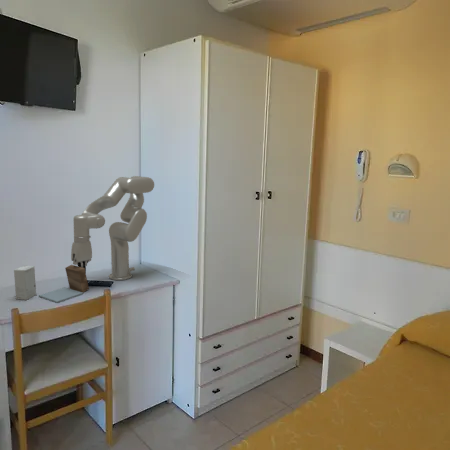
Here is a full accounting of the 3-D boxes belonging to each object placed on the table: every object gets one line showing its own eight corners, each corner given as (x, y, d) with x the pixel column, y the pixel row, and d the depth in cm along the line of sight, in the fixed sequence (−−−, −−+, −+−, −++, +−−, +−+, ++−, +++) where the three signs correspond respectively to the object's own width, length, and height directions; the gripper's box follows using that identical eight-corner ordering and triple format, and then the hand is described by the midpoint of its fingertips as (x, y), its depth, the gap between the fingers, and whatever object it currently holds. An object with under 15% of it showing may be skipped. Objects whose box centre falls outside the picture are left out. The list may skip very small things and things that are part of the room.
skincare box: (26, 300, 203) (24, 270, 200) (15, 299, 203) (13, 269, 201) (36, 294, 211) (35, 265, 208) (25, 293, 212) (23, 264, 209)
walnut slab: (75, 285, 223) (71, 264, 219) (88, 289, 218) (84, 268, 214) (69, 288, 220) (65, 267, 216) (82, 292, 215) (78, 271, 211)
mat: (64, 288, 220) (64, 287, 220) (83, 294, 213) (83, 292, 213) (39, 296, 207) (38, 295, 207) (57, 303, 200) (57, 301, 200)
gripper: (88, 235, 225) (89, 269, 228) (64, 240, 212) (65, 275, 216) (98, 238, 221) (98, 271, 224) (74, 242, 208) (75, 278, 212)
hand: (82, 273), depth 220 cm, fingers closed
